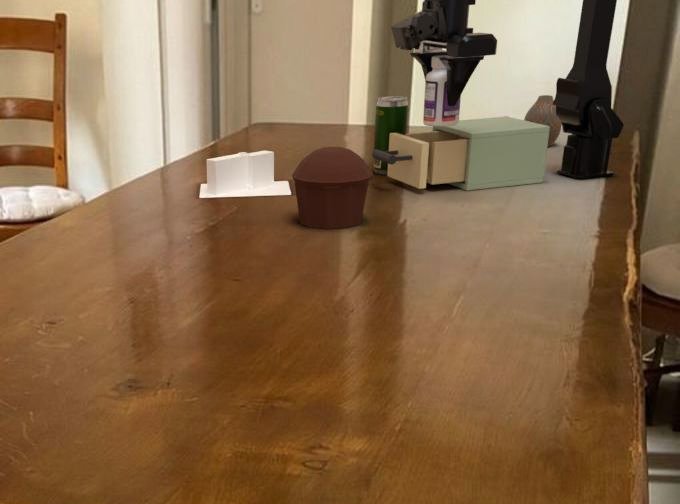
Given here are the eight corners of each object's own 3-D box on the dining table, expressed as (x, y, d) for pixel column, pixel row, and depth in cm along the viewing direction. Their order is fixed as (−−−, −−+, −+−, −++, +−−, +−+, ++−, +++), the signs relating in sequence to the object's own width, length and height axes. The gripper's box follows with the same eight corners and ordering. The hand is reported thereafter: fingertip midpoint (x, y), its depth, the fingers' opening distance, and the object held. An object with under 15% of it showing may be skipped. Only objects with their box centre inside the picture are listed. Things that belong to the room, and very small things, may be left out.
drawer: (394, 191, 157) (397, 145, 153) (363, 178, 166) (365, 135, 163) (490, 181, 160) (495, 136, 157) (455, 169, 170) (458, 126, 167)
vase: (527, 141, 195) (533, 93, 191) (563, 143, 192) (570, 94, 187) (515, 147, 190) (520, 97, 186) (552, 149, 187) (558, 99, 183)
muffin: (378, 228, 140) (382, 154, 135) (299, 233, 140) (300, 158, 135) (359, 210, 151) (362, 140, 146) (286, 214, 150) (286, 144, 145)
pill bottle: (460, 121, 158) (465, 54, 153) (457, 127, 153) (462, 57, 149) (424, 121, 159) (429, 54, 155) (420, 127, 155) (425, 58, 150)
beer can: (388, 176, 171) (392, 101, 166) (366, 172, 175) (369, 98, 170) (410, 171, 174) (415, 97, 168) (389, 167, 178) (393, 95, 172)
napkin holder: (199, 198, 163) (198, 161, 160) (200, 183, 173) (199, 149, 170) (292, 194, 162) (292, 157, 159) (287, 180, 172) (288, 145, 169)
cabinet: (466, 190, 159) (472, 133, 155) (428, 176, 170) (432, 122, 166) (543, 182, 162) (550, 126, 158) (501, 169, 173) (506, 116, 169)
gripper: (372, -8, 154) (367, 101, 161) (432, -6, 138) (424, 115, 145) (438, -13, 156) (430, 95, 164) (504, -10, 140) (492, 109, 148)
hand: (442, 103), depth 155 cm, fingers closed on pill bottle, 5 cm apart
